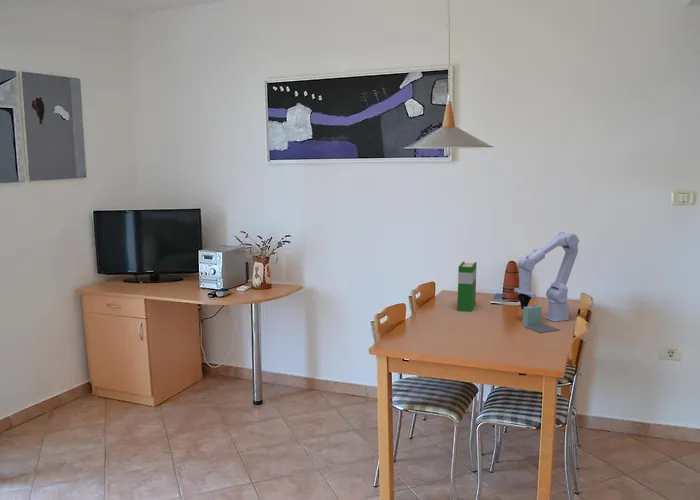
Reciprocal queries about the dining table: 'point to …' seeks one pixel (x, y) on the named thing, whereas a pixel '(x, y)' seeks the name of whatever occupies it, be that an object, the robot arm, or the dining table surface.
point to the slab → (531, 315)
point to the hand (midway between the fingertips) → (524, 309)
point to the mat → (542, 328)
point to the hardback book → (466, 286)
